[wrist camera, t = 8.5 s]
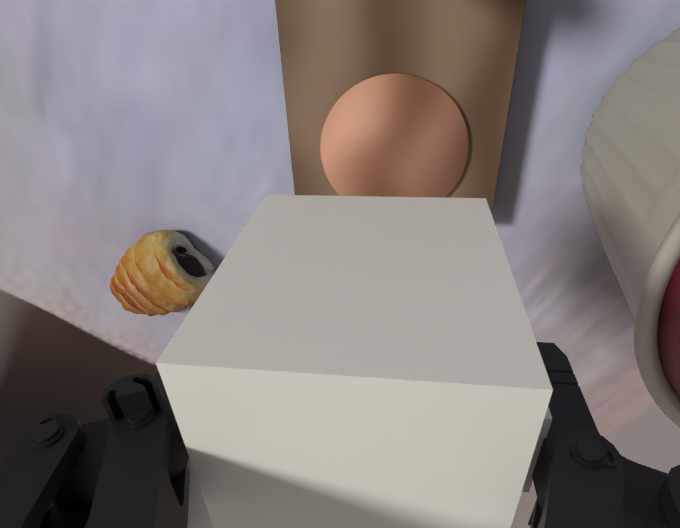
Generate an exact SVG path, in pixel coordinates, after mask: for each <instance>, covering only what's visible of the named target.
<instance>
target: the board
mask: <svg viewBox="0 0 680 528" xmlns="http://www.w3.org/2000/svg"><path fill="white" fill-rule="evenodd" d="M525 1H526V0H275V3H276V12H277V22H278V32H279V42H280V52H281V62H282V72H283V82H284V91H285V101H286V111H287V121H288V131H289V141H290V151H291V161H292V170H293V180H294V190H295V195H318V196H379V197H441V198H486V200H487V203H488V206H489V209H490V211H491V214H492V210H493V203H494V197H495V191H496V184H497V178H498V172H499V165H500V159H501V153H502V147H503V140H504V134H505V128H506V121H507V115H508V109H509V102H510V96H511V90H512V83H513V77H514V71H515V65H516V58H517V52H518V46H519V39H520V33H521V27H522V20H523V14H524V8H525Z"/></svg>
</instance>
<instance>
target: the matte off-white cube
mask: <svg viewBox="0 0 680 528" xmlns="http://www.w3.org/2000/svg"><path fill="white" fill-rule="evenodd" d="M156 365H157V368H158V370H159V373H160V376H161V379H162V382H163V385H164V387H165V390H166V393H167V396H168V399H169V402H170V404H171V407H172V410H173V413H174V416H175V419H176V421H177V424H178V427H179V430H180V433H181V436H182V438H183V441H184V444H185V447H186V450H187V452H188V455H189V458H190V461H191V464H192V467H193V469H194V472H195V475H196V478H197V481H198V483H199V486H200V489H201V492H202V495H203V497H204V501H205V503H206V506H207V509H208V512H209V515H210V518H211V520H212V523H213V526H214V528H510V527H511V525H512V521H513V518H514V515H515V512H516V508H517V505H518V502H519V499H520V495H521V492H522V489H523V486H524V482H525V479H526V476H527V473H528V469H529V466H530V463H531V460H532V456H533V453H534V450H535V447H536V443H537V440H538V437H539V434H540V430H541V427H542V424H543V421H544V418H545V414H546V411H547V408H548V405H549V401H550V398H551V395H552V392H553V388H552V386H551V383H550V380H549V377H548V374H547V371H546V368H545V366H544V363H543V360H542V357H541V354H540V351H539V348H538V346H537V343H536V340H535V337H534V334H533V331H532V328H531V326H530V323H529V320H528V317H527V314H526V311H525V308H524V306H523V303H522V300H521V297H520V294H519V291H518V288H517V286H516V283H515V280H514V277H513V274H512V271H511V269H510V266H509V263H508V260H507V257H506V254H505V251H504V249H503V246H502V243H501V240H500V237H499V234H498V231H497V229H496V226H495V223H494V220H493V217H492V214H491V211H490V209H489V206H488V203H487V200H486V198H441V197H379V196H318V195H265V197H264V198H263V200H262V201H261V203H260V204H259V206H258V207H257V209H256V210H255V212H254V214H253V215H252V217H251V218H250V220H249V221H248V223H247V224H246V226H245V227H244V229H243V230H242V232H241V233H240V235H239V236H238V238H237V240H236V241H235V243H234V244H233V246H232V247H231V249H230V250H229V252H228V253H227V255H226V256H225V258H224V259H223V261H222V262H221V264H220V266H219V267H218V269H217V270H216V272H215V273H214V275H213V276H212V278H211V279H210V281H209V282H208V284H207V285H206V287H205V289H204V290H203V292H202V293H201V295H200V296H199V298H198V299H197V301H196V302H195V304H194V305H193V307H192V308H191V310H190V311H189V313H188V315H187V316H186V318H185V319H184V321H183V322H182V324H181V325H180V327H179V328H178V330H177V331H176V333H175V334H174V336H173V338H172V339H171V341H170V342H169V344H168V345H167V347H166V348H165V350H164V351H163V353H162V354H161V356H160V357H159V359H158V360H157V362H156Z"/></svg>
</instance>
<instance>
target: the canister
mask: <svg viewBox="0 0 680 528" xmlns="http://www.w3.org/2000/svg"><path fill="white" fill-rule="evenodd" d="M585 138H586V139H585V144H584V146H583V148H582V151H581V156H582V164H581V168H580V173H581V177H582V180H583V184H582V188H583V193H584V196H585V199H586V202H587V205H588V208H589V211H590V214H591V217H592V219H593V222H594V225H595V227H596V230H597V233H598V235H599V238H600V240H601V243H602V245H603V248H604V250H605V253H606V255H607V257H608V260H609V262H610V264H611V267H612V269H613V271H614V274H615V276H616V278H617V280H618V283H619V285H620V287H621V289H622V292H623V294H624V296H625V299H626V301H627V304H628V306H629V308H630V311H631V313H632V315H633V318H634V320H635V324H634V347H635V355H636V360H637V365H638V368H639V371H640V374H641V377H642V379H643V382H644V384H645V386H646V388H647V390H648V391H649V393H650V395H651V396H652V398H653V399H654V401H655V402H656V404H657V405H658V406H659V408H660V409H661V410H662V411H663V412H664V414H665V415H666V416H667V417H669V419H670V420H671V421H672V422H674V423H675V424H676V425H677V426H678V427H680V28H679V29H677V30H675V31H674V32H673V33H672V34H671V35H670V36H668V37H667V38H665V39H664V40H662V41H660V42H658V43H656V44H654V45H652V46H651V47H650V49H649V50H648V51H647V52H646V53H645V54H644V55H642V56H641V57H639V58H638V59H636V60H634V61H633V62H632V64H631V66H630V67H629V68H628V69H627V70H626V71H625V72H624V73H623V74H622V75H621V76H619V77H618V78H617V79H616V81H615V83H614V85H613V86H612V88H611V89H610V90H609V91H608V93H606V94H605V95H604V96H603V99H602V102H601V104H600V106H599V107H598V109H597V110H596V111H595V112H594V114H593V116H592V122H591V125H590V127H589V128H588V130H587V131H586V134H585Z"/></svg>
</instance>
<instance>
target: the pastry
mask: <svg viewBox="0 0 680 528" xmlns="http://www.w3.org/2000/svg"><path fill="white" fill-rule="evenodd" d="M215 272H216V271H215V270H214V266H213V264H212V263H211V262H210V261H209V259H208V258H206V257H205V256H204V255H203V254H202V253H200V252H199V251H197V250H196V249H195V248H194V247H193V245H192V244H191V242H190V241H189V240H188V239H187V238H186V237H185V236H184V235H183V234H181V233H179V232H176V231H169V230H163V231H157V232H152V233H148V234H146V235H144V236H142V238H141V239H140V240H139V241H138V242H137V243H135V244H134V245H133V246H132V247H131V248H129V249H128V250H127V251H126V252H125V255H124V256H123V257H122V258H121V260H120V262H119V265H118V266H117V267H116V271H115V274H114V276H113V277H112V278H111V284H110V289H111V292H112V294H113V295H114V296H115V297H116V299H117V300H118V301H119V302H120V303H121V304H122V307H123V308H124V309H125V310H126V311H130V312H133V313H136V314H147V315H148V316H154V315H157V314H159V315H165V314H168V313H169V312H178V311H180V310H182V309H183V308H185V307H186V306H193V305H194V304H195V302H196V301H197V299H198V298H199V296H200V295H201V293H202V292H203V290H204V289H205V287H206V285H207V284H208V282H209V281H210V279H211V278H212V276H213V275H214V273H215Z"/></svg>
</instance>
